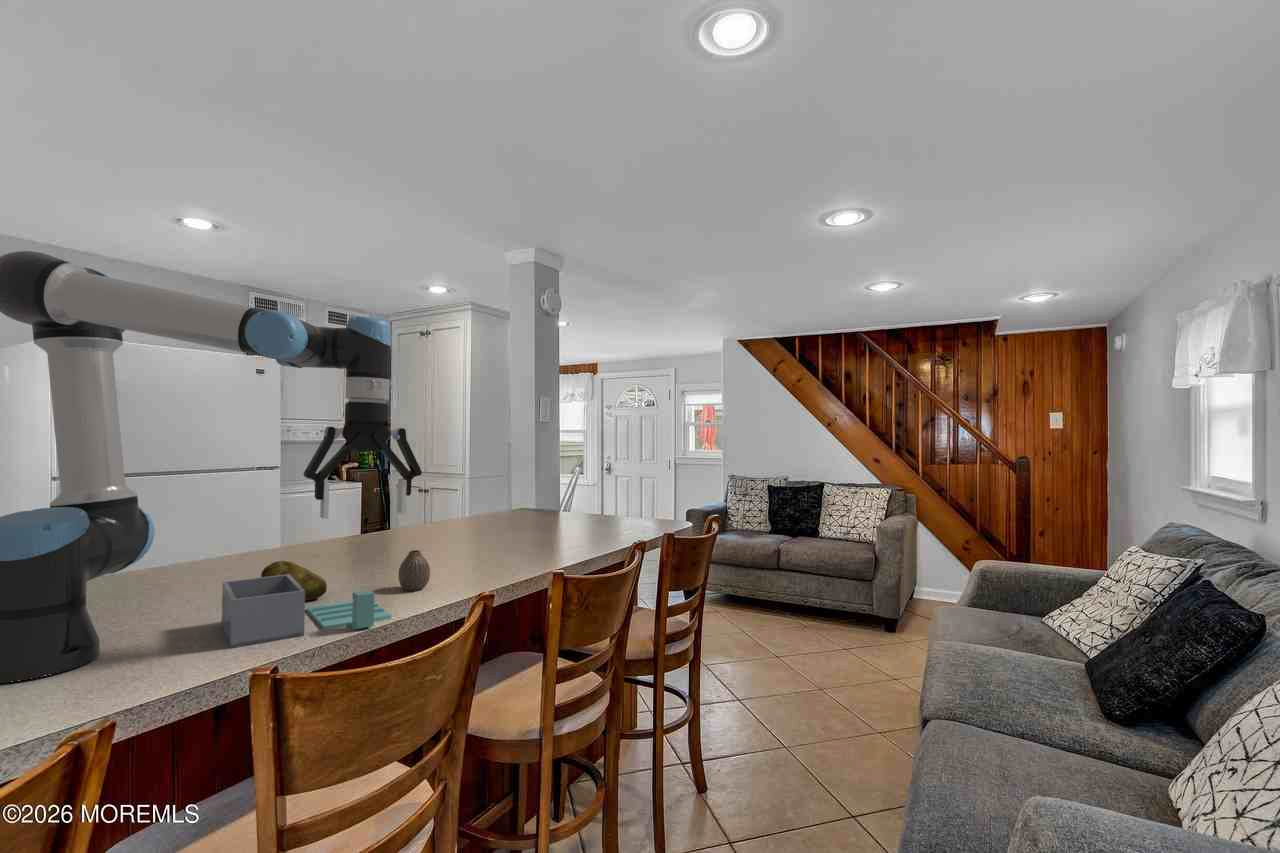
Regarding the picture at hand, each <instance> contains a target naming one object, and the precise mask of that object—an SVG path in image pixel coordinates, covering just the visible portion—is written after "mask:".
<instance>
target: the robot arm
mask: <svg viewBox="0 0 1280 853" xmlns="http://www.w3.org/2000/svg"><path fill="white" fill-rule="evenodd" d="M0 313H1V314H3V315H5V316H6V317H8V318H10V319H12V320H15V321H17V322H20V323H22V324H23V323H24V324H27V325H31V327H32V328H31V329H32V337H33V344H34V345H36V347H39V348H40V349H42V350H43V351H44V352H45V353H46V354H47V366H48V367H47V368H48V374H49V376H48V377H49V386H50V397H51V407H52V417H53V427H54V436H55V437H54V438H55V446H56V449H55V450H56V459H57V467H58V479H59V491H60V492H59V493H58V495H56V497H55V498H53V500H52V501H51V502H49V507H42V508H41V507H40V508H36V509H32V510H22V511H17V512H13V513H9V514H5V515H2V516H0V683H2V684H7V683H6V682H11V681H18V680H25V679H31V678H36V677H41V676H44V675H49V674H54V673H58V672H62V671H65V672H67V671H66V670H68V671H71V670H74V669H77V668H80V667H81V666H84V664H85V665H87V664H88V662H89V663H91V662H92V661H94V660H95V659H97V658H98V657H97V656H98V655H100V654H99V653H101V652H100V650H101V649H100V647H101V646H100V644H101V642H100V637H99V636H98V632H97V630H96V628H95V626H94V624H93V621H92V618H91V617H90V614H89V611H88V609H87V582H88V581H91V580H94V579H96V578H100V577H103V576H106V575H109V574H115V573H117V572H120V571H123V570H124V569H127V568H129V566H131V565H133V564H135V563H136V562H138V561H139V560H142V558H143V557H144V556H145V555H146V554H147V553H148V552H149V550H150V549H151V547H152V544H153V543H154V539H155V534H156V532H155V525H154V521H153V519H152V517H151V516H150V515H149V513H146V512H145V511H144V509H143V508H141V507H139V499H138V498H139V497H138V493H137V492H135V491H134V490H132V489H131V488H129V487H128V486H127V485H126V479H125V478H126V476H125V468H124V457H123V455H124V454H123V449H122V448H123V447H122V444H123V443H122V435H121V425H120V414H119V404H118V402H119V401H118V393H117V392H118V391H117V383H116V373H115V361H114V353H115V352H116V351H117V350H119V348H121V347H122V346H123V344H124V340H123V339H124V338H123V333H124V332H125V331H126V330H127V331H129V332H135V333H141V334H146V335H151V336H156V337H161V338H162V337H163V338H167V339H170V340H171V339H172V340H176V341H177V340H178V341H182V342H187V343H193V344H198V345H203V346H208V347H213V348H218V349H224V350H230V351H233V352H238V353H244V354H249V355H253V356H257V357H263V358H267V359H270V360H272V359H273V360H275V361H276V363H277V364H278V365H280V366H282V367H291V368H297V369H302V368H319V369H339V370H343V369H345V371H346V372H345V378H346V379H345V399H346V400H348V401H347V402H346V403H344V423H343V424H344V425H343V427H342V428H339V427H335V426H326V427H325V428H324V435H323V439H322V441H321V442H320V444H319V445H318V447H317V449H316V451H315V452H314V454H313V456H312V458H311V460H310V462H309V463H308V465H307V466H306V468H305V470H304V472H303V477H305V478H306V479H309V480H313V482H314V498H315V500H316V501H320V508H319V509H320V510H319V511H320V512H319V514H320V515H319V516H320V519H323V520H327V519H329V503H330V502H329V500H330V481H327V480H326V479H327V478H328V477H329V476H330V475H331V474H332V473H333V472H334V470H336V468H338V466H340V464H341V463H342V462H343V461H344V460H345V459H346V458H347V457H348V456H349V455H350V454H351V453H352V452H353V451H356V452H359V453H360V452H363V453H364V452H367V451H368V452H371V453H372V452H377V451H378V452H380V453H382V455H383V456H384V457H385V458H386V459H387V460H388V461H387V462H389V463H390V464H391V465H392V466H393V468H394V469H395V470H396V471H397V473H398V474H399V475H400V476H401V477H402V478H398V479H397V503H396V504H397V505H396V506H397V508H396V510H397V511H396V512H397V513H398V514H399V515H400V514H401V515H405V514H407V513H406V512H407V511H406V508H407V496H411V494H412V480H413V479H414V478H415V477H417V476H418V477H419V476H421V475H422V473H423V471H422V468H421V466H420V465H419V463H418V461H417V459H416V457H415V454H414V453H413V450H412V448H411V446H410V444H409V441H408V440H407V430H406V428H402V427H397V428H394V429H391V428H390V427H389V426H390V425H389V423H390V422H389V421H390V420H389V419H390V405H389V403H386V401H390V378H391V377H390V375H391V374H390V373H391V371H390V370H391V352H392V342H391V340H392V339H391V325H390V324H389V322H387V321H386V320H384V319H381V318H377V317H370V316H353V317H349V318H348V320H347V324H346V325H345V327H326V326H316V325H313V324H312V323H311V324H310V323H309V322H306V321H304V320H302V319H299V318H297V317H296V316H295V315H292V314H290V313H289V312H284V311H281V310H276V309H267V310H266V309H263V308H255V307H253V306H252V307H251V306H247V305H242V304H237V303H233V302H229V301H228V302H227V301H222V300H218V299H214V298H208V297H203V296H199V295H196V294H189V293H185V292H182V291H175V290H171V289H166V288H161V287H157V286H151V285H146V284H142V283H138V282H133V281H128V280H123V279H119V278H114V277H109V276H107V275H106V274H104V273H102V272H100V271H98V270H95V269H93V268H91V267H90V268H89V267H85V266H84V267H83V266H82V265H80V264H78V263H73V262H69V261H66V260H63V259H60V258H58V257H54V256H53V255H50V254H46V253H43V252H38V251H30V250H23V251H21V250H20V251H14V252H12V251H11V252H8V253H6V254H3V255H1V256H0ZM340 435H342V437H343V439H345V442H344V444H343V445H341V447H340V449H339V450H338V451H337V452H336V453H335V454H334V455H333V456H332V457H331V458H330V459H329V460H328V462H326V464H325V465H324V466H322V468H321V469H320V470H319V471H318V469H319V468H320V466H321V464H322V462H323V461H324V458H325V457H326V455H327V453H328V452H329V451H330V448H331V446H333V443H334V441H335V440H338V438H339V437H340ZM390 437H392V438H393V439H394V440H395V441H396V443H397V445H398V447H399V449H400V451H401V453H402V455H403V457H404V459H405V463H406V464H407V466H408V468H409V469H408V468H407V467H406V466H405V464H404V463H403V462H402V461H401V459H400V458H399V457H398V456H397V455H396V454H395V452H394V451H393V450H392V448H391V446H390V445H389V444H388V443H387V441H388V439H389V438H390ZM96 657H97V658H96ZM93 659H94V660H93ZM90 661H91V662H90ZM86 663H87V664H86ZM79 666H80V667H79ZM76 667H77V668H76ZM73 668H74V669H73ZM70 669H71V670H70ZM62 673H63V672H62ZM58 674H59V673H58ZM54 675H55V674H54ZM41 678H42V677H41ZM31 680H32V679H31Z"/></svg>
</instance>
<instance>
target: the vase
mask: <svg viewBox="0 0 1280 853" xmlns="http://www.w3.org/2000/svg"><path fill="white" fill-rule="evenodd" d="M397 576H398V581H399V584H400V586H401V588H402V589H403V590H404V591H406V592H416V591H417V592H418V591H421V590H423V589H424V588H425V587H426V586H427V585H428V583H429V581H430V577H431V568H430V565H429V562H428V561H427V559H426V558H425V557H424V556H423V554H422V551H421V550H418V549H415V550H413V549H412V550H409V552H408V554H407V555H406V557H405V558H404V559H403V561H402V562H401V564H400V565H399V569H398V574H397Z"/></svg>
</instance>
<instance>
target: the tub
mask: <svg viewBox="0 0 1280 853" xmlns="http://www.w3.org/2000/svg"><path fill="white" fill-rule="evenodd" d="M221 591H222V595H221V596H222V597H221V598H222V599H221V600H222V601H221V604H222V605H221V627H222V629H223V631H224V635H225V637H226V639H228V640H227V642H228V645H229V644H230V645H229V647H230V648H231V647H235V648H238V647H237V646H241V647H245V646H244V645H246V646H251V645H250V644H252V645H256V643H258V644H263V643H269V642H273V641H280V640H286V638H287V639H291V638H298V637H303V636H305V613H306V612H305V611H306V610H305V608H306V604H305V603H306V601H305V590H304V589H303V588H302V587H301V586H300V585H299V584H298V583H297V582H296V581H295V580H294V578H293V577H292V576H291V575H290V574H287V575H278V576H270V577H261V576H260V577H253V578H245V579H236V580H229V581H228V580H227V581H222V590H221Z"/></svg>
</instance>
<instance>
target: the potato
mask: <svg viewBox="0 0 1280 853" xmlns="http://www.w3.org/2000/svg"><path fill="white" fill-rule="evenodd" d="M287 574H290V575H291V576H292V577H293V578H294V580H295V581H296V582H297V583H298V584H299V585H300V586H301V587H302V588H303V589H304V590H305V602H306V601H311V600H317V599H318V598H320V597H322V596H324V594H326V593H327V588H328V587H327V582H326V580H325V579H324V578H323V577H321V575H318V574H316V573H314V572H312V571H310V570H309V569H308V568H305V567H303V566H301V565H299V564H297V563H295V562H293V561H289V560H288V561H287V560H279V561H273V562H271V563H270V564H269V565H267V566H265V567H264V568H263V569H262V571H261V574H260V578H261V577H270V576H278V575H287Z"/></svg>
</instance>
